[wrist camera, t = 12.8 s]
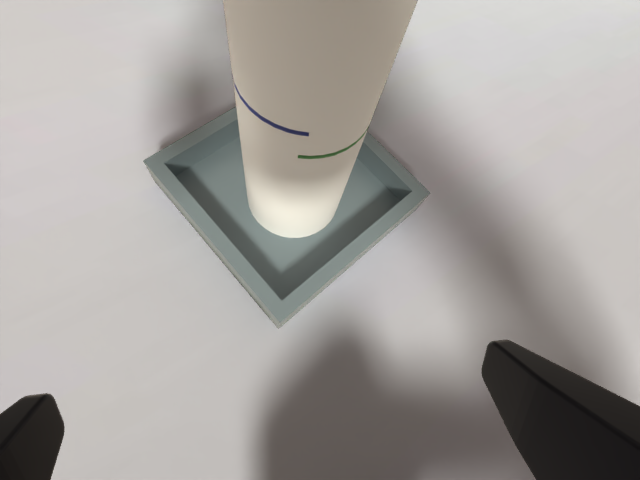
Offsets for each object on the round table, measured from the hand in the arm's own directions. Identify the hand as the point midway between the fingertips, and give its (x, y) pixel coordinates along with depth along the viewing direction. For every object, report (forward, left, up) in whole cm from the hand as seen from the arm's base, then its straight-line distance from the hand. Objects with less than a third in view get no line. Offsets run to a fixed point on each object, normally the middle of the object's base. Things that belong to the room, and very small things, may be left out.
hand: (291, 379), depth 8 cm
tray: (+10, -10, -19) cm, 23 cm away
